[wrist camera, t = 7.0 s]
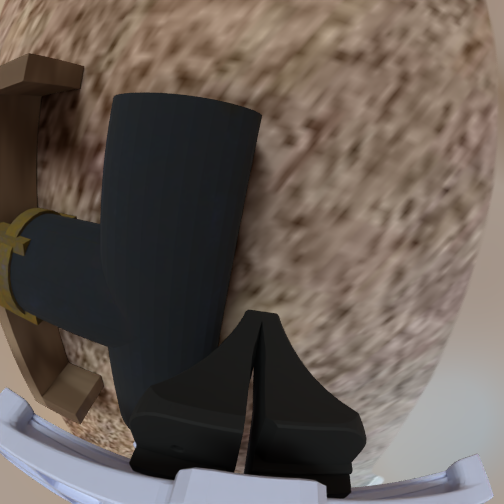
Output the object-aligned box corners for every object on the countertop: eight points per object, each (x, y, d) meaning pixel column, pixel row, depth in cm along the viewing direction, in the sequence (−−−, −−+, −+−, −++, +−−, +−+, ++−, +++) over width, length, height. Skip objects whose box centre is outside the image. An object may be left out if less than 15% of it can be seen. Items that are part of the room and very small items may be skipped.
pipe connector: (19, 383, 11) (-25, 109, 6) (59, 336, 16) (49, 108, 11) (197, 456, 11) (258, 103, 6) (213, 386, 16) (264, 122, 11)
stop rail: (103, 386, 17) (80, 424, 13) (61, 368, 17) (36, 401, 14) (83, 66, 10) (29, 53, 6) (32, 79, 10) (-19, 75, 6)
